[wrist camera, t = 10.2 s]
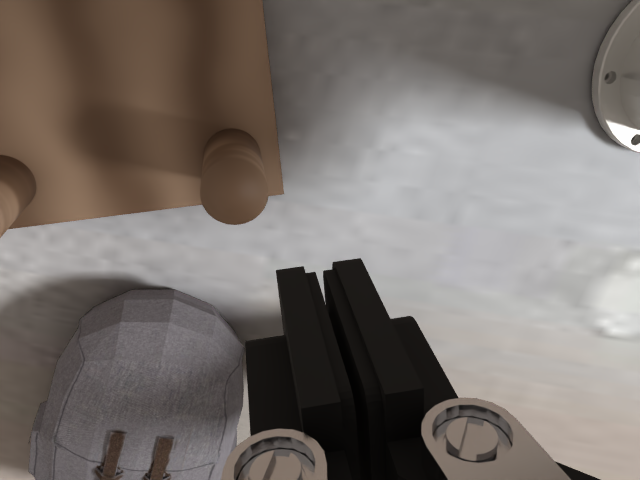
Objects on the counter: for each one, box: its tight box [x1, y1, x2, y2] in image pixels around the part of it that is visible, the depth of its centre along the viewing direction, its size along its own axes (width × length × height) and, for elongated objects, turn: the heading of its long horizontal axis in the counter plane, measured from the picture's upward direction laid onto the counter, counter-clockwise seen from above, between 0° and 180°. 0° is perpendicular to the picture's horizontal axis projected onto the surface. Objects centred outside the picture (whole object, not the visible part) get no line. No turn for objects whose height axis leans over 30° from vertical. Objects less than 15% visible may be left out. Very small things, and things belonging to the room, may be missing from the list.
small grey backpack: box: [29, 290, 245, 480], centre depth 42 cm, size 15×8×20 cm
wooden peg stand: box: [0, 0, 284, 238], centre depth 31 cm, size 20×20×10 cm
